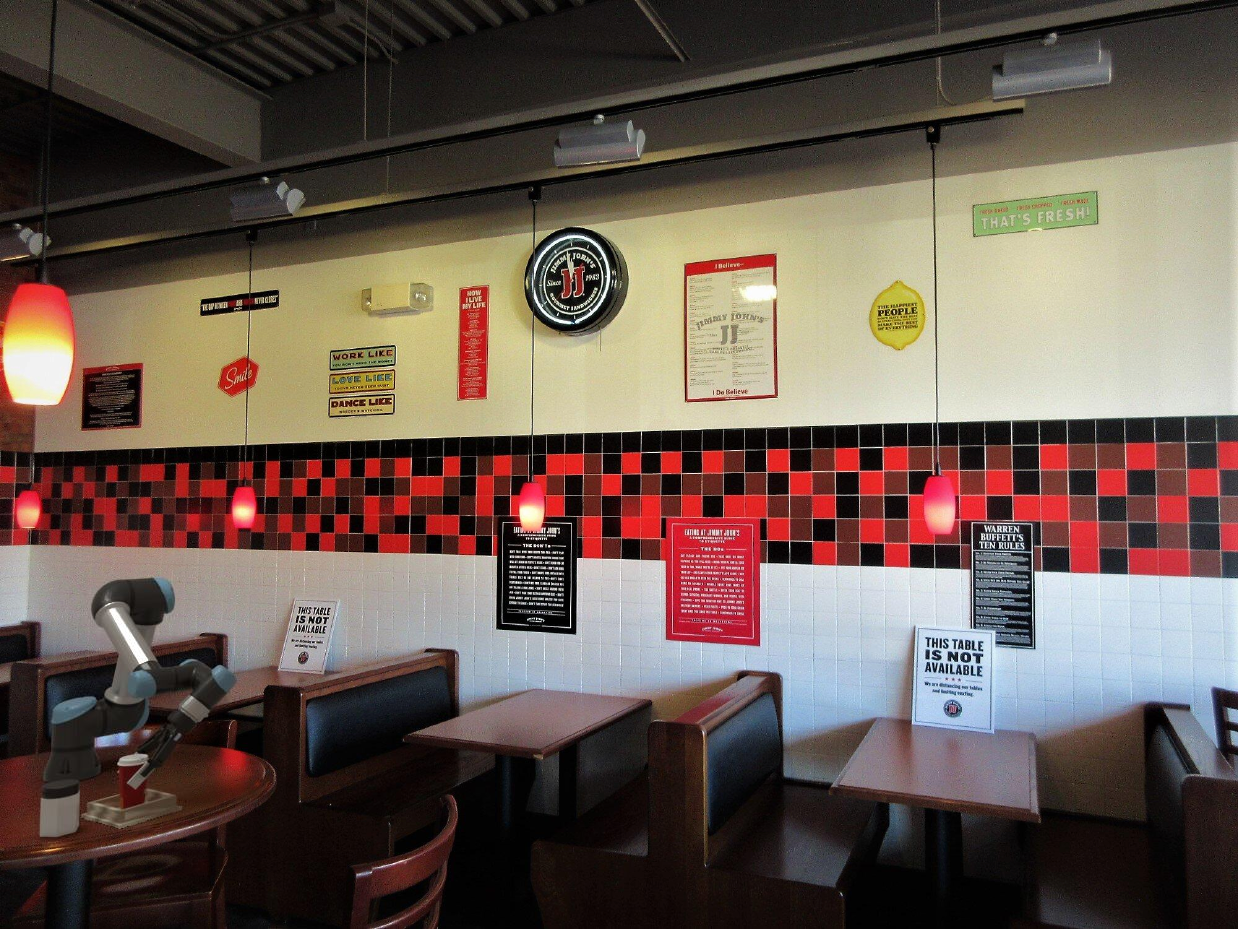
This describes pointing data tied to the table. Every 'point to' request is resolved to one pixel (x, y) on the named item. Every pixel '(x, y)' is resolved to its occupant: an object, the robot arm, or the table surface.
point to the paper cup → (126, 772)
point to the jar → (59, 808)
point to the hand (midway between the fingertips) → (126, 780)
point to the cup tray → (131, 809)
